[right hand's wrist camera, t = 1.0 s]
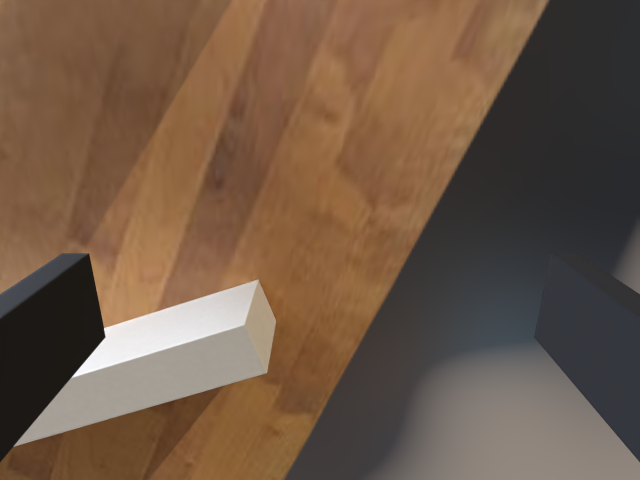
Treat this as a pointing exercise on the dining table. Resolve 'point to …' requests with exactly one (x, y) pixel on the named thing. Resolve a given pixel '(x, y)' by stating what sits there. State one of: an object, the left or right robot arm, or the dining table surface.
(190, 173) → the dining table surface
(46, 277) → the right robot arm
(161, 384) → the bar
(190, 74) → the dining table surface
